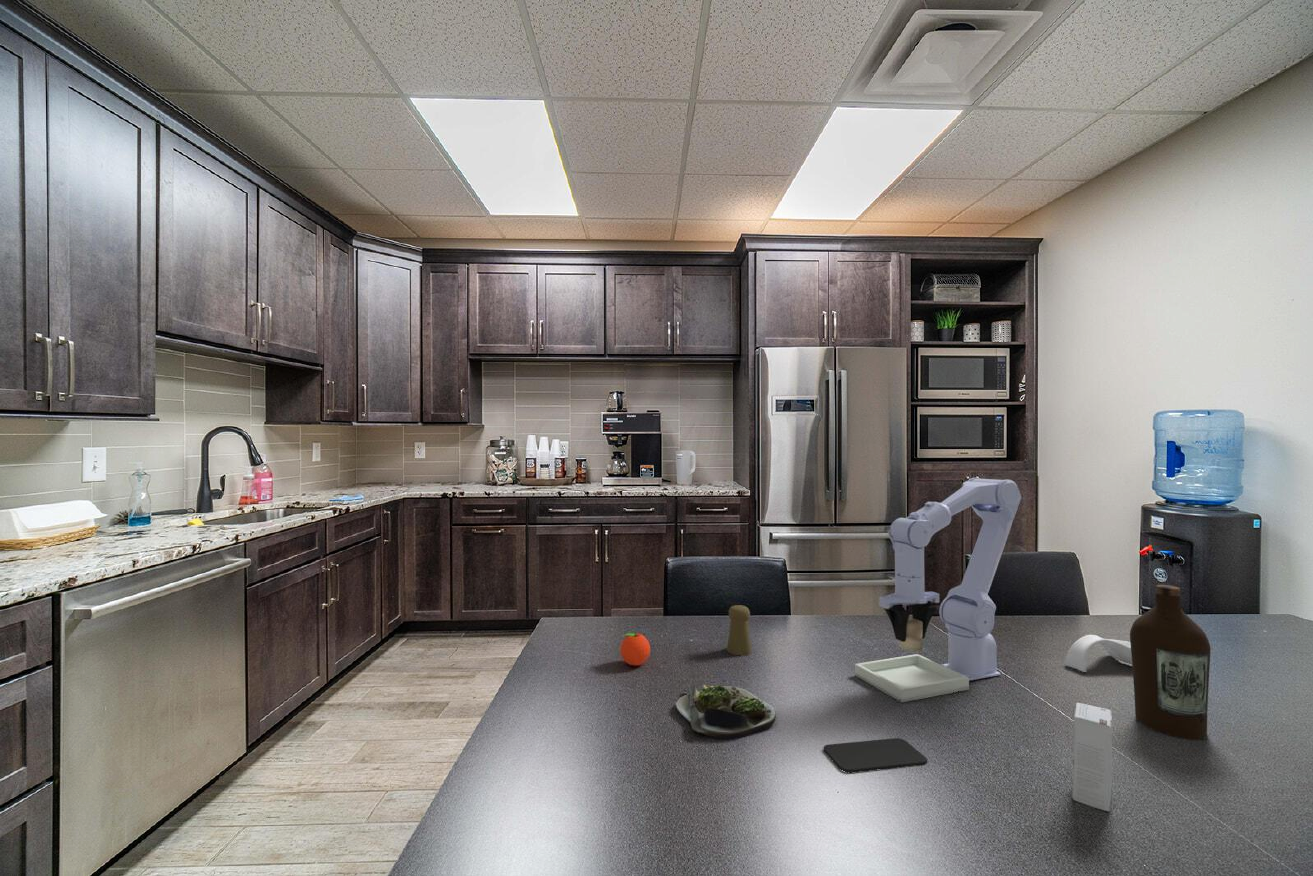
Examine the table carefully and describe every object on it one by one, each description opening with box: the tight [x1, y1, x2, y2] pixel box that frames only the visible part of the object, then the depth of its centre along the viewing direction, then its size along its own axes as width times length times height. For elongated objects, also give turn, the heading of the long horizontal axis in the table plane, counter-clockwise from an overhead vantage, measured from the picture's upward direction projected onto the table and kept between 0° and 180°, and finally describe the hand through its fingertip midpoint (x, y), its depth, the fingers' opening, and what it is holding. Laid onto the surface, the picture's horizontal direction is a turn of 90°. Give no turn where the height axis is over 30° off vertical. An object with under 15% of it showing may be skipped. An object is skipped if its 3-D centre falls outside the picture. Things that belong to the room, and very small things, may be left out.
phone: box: [823, 737, 928, 774], centre depth 89 cm, size 7×1×15 cm
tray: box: [854, 653, 970, 703], centre depth 117 cm, size 18×14×2 cm
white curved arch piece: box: [1064, 634, 1132, 673], centre depth 126 cm, size 24×12×7 cm, turn 104°
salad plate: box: [675, 684, 777, 740], centre depth 104 cm, size 19×18×5 cm
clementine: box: [619, 632, 651, 667], centre depth 126 cm, size 8×7×7 cm
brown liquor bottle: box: [1129, 584, 1211, 740], centre depth 99 cm, size 11×11×25 cm
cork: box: [726, 604, 753, 656], centre depth 134 cm, size 6×6×11 cm
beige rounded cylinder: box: [898, 617, 923, 652], centre depth 117 cm, size 5×5×6 cm
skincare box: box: [1071, 702, 1113, 812], centre depth 78 cm, size 6×4×12 cm
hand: (909, 638), depth 117 cm, fingers closed on beige rounded cylinder, 5 cm apart
